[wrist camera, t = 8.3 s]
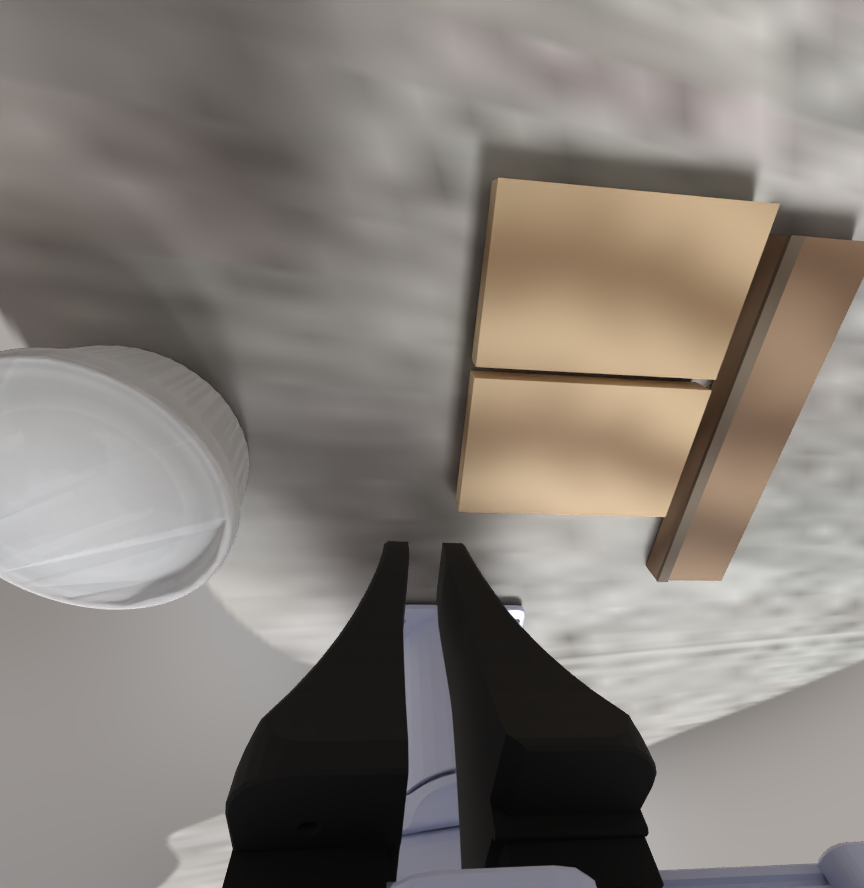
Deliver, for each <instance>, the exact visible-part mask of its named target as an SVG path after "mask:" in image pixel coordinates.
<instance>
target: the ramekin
mask: <svg viewBox="0 0 864 888" xmlns="http://www.w3.org/2000/svg"><path fill="white" fill-rule="evenodd" d="M248 474H249V454H248V446H247V443H246V440H245V437H244V433H243V430H242V429H241V427H240V425H239V422H238V420H237V418H236V416H235V415H234V414H233V412H232V410H231V408H230V406H229V405H228V404H227V403H226V402H225V401H224V399H223V398H222V396H221V395H220V394H219V393H218V392H217V391H215V390H214V389H213V388H212V386H211V385H210V384H209V383H207V382H206V381H205V380H203V379H202V378H201V377H200V376H198V375H197V374H196V373H194V372H192V371H190V370H189V369H187V368H186V367H185V366H183V365H182V364H179V363H177V362H175V361H173V360H172V359H170V358H167V357H164V356H161V355H159V354H157V353H154V352H149V351H145V350H142V349H139V348H129V347H124V346H105V345H96V346H86V347H76V348H66V349H57V348H20V349H11V350H5V351H0V578H2V579H4V580H5V581H7V582H9V583H11V584H13V585H16V586H18V587H20V588H22V589H24V590H26V591H30V592H32V593H34V594H37V595H39V596H43V597H46V598H49V599H52V600H56V601H59V602H63V603H67V604H72V605H76V606H82V607H89V608H98V609H116V610H117V609H138V608H144V607H151V606H156V605H160V604H163V603H167V602H170V601H172V600H175V599H178V598H180V597H183V596H185V595H187V594H189V593H191V592H193V591H194V590H196V589H197V588H198V587H200V586H201V585H203V584H204V583H205V582H206V581H207V580H208V579H209V578H210V577H211V576H212V575H213V574H214V573H215V572H216V571H217V570H218V569H219V567H220V566H221V565H222V563H223V561H224V560H225V558H226V557H227V555H228V553H229V551H230V549H231V547H232V545H233V543H234V540H235V537H236V534H237V530H238V526H239V520H240V506H241V502H242V499H243V496H244V492H245V489H246V486H247V482H248Z"/></svg>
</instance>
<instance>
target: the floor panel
mask: <svg viewBox="0 0 864 888" xmlns="http://www.w3.org/2000/svg"><path fill="white" fill-rule="evenodd" d="M863 277H864V241H853V240H842V239H830V238H819V237H807V236H798V235H769V236H768V238H767V241H766V244H765V247H764V249H763V252H762V255H761V258H760V260H759V263H758V266H757V268H756V271H755V274H754V277H753V279H752V282H751V285H750V288H749V290H748V293H747V296H746V299H745V301H744V304H743V307H742V309H741V312H740V315H739V318H738V320H737V323H736V326H735V329H734V331H733V334H732V337H731V340H730V342H729V345H728V348H727V350H726V353H725V356H724V359H723V361H722V364H721V367H720V370H719V372H718V375H717V378H716V380H713V383H712V386H711V388H710V390H712V391H711V394H710V397H709V400H708V402H707V405H706V408H705V410H704V413H703V416H702V419H701V421H700V424H699V427H698V430H697V432H696V435H695V438H694V441H693V443H692V446H691V449H690V451H689V454H688V457H687V460H686V462H685V465H684V468H683V471H682V473H681V476H680V479H679V482H678V484H677V487H676V490H675V492H674V495H673V498H672V501H671V503H670V506H669V509H668V512H667V514H666V517H663V520H662V523H661V526H660V528H659V531H658V534H657V537H656V539H655V542H654V545H653V548H652V550H651V553H650V556H649V559H648V561H647V564H646V567H647V568H648V569H649V571H650V572H651V573H652V575H653V576H654V577H655V579H656V580H657V582H668V580H703V581H721V580H722V578H723V576H724V574H725V572H726V570H727V568H728V565H729V563H730V561H731V559H732V557H733V555H734V553H735V551H736V548H737V546H738V544H739V542H740V540H741V538H742V536H743V533H744V531H745V529H746V527H747V525H748V523H749V521H750V518H751V516H752V514H753V512H754V510H755V508H756V506H757V504H758V501H759V499H760V497H761V495H762V493H763V491H764V489H765V486H766V484H767V482H768V480H769V478H770V476H771V474H772V471H773V469H774V467H775V465H776V463H777V461H778V459H779V457H780V454H781V452H782V450H783V448H784V446H785V444H786V442H787V439H788V437H789V435H790V433H791V431H792V429H793V427H794V424H795V422H796V420H797V418H798V416H799V414H800V412H801V410H802V407H803V405H804V403H805V401H806V399H807V397H808V395H809V392H810V390H811V388H812V386H813V384H814V382H815V380H816V377H817V375H818V373H819V371H820V369H821V367H822V365H823V363H824V360H825V358H826V356H827V354H828V352H829V350H830V348H831V345H832V343H833V341H834V339H835V337H836V335H837V333H838V330H839V328H840V326H841V324H842V322H843V320H844V318H845V316H846V313H847V311H848V309H849V307H850V305H851V303H852V301H853V298H854V296H855V294H856V292H857V290H858V288H859V286H860V283H861V281H862V279H863Z"/></svg>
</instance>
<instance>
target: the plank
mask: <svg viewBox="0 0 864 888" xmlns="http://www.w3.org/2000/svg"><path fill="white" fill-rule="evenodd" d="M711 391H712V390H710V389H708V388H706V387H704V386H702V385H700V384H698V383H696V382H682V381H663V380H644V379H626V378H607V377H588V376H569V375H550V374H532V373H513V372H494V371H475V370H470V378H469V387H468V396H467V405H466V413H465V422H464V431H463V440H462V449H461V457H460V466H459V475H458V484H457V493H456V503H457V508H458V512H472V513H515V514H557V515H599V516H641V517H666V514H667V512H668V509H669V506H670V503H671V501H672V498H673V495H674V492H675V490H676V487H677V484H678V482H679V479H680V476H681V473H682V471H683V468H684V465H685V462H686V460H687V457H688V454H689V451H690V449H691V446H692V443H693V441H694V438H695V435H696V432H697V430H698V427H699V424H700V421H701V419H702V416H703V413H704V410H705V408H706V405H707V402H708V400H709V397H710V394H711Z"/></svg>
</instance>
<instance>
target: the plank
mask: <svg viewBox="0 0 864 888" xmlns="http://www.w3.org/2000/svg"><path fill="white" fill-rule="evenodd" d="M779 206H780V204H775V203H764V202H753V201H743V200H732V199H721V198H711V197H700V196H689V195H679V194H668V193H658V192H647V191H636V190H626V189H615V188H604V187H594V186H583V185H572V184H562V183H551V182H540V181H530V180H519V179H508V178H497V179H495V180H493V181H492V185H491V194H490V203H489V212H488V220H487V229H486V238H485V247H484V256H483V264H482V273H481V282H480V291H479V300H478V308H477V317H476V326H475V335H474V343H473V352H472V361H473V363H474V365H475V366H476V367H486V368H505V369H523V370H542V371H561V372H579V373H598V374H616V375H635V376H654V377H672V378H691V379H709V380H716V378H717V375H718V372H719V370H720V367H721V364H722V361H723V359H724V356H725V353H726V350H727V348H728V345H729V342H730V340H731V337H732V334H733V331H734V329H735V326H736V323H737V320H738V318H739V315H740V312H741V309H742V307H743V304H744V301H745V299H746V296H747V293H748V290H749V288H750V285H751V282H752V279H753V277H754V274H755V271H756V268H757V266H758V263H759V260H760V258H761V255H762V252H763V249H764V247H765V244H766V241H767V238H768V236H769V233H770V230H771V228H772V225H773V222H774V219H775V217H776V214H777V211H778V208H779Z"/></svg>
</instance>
